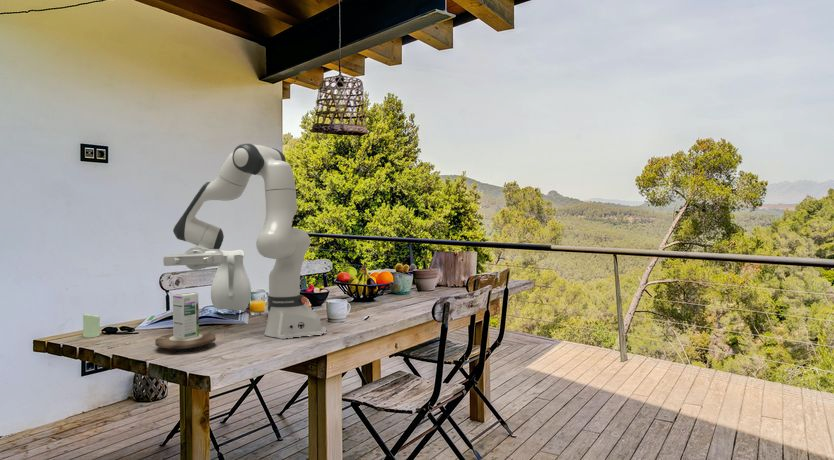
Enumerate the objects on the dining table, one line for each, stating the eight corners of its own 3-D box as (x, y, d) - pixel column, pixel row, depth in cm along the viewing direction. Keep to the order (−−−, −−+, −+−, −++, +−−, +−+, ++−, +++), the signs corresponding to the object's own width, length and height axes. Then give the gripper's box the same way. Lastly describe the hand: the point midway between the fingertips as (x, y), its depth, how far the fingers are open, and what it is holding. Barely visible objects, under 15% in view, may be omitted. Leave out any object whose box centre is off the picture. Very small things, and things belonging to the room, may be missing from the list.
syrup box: (183, 339, 162) (183, 294, 162) (172, 337, 166) (172, 293, 165) (199, 336, 167) (199, 292, 167) (188, 334, 170) (188, 291, 170)
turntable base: (205, 342, 172) (205, 337, 172) (199, 350, 163) (199, 345, 163) (173, 344, 170) (173, 339, 170) (165, 352, 160) (165, 346, 160)
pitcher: (212, 310, 231) (212, 249, 231) (251, 308, 236) (251, 249, 236) (207, 320, 209) (207, 253, 208) (250, 318, 214) (250, 252, 213)
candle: (95, 333, 184) (95, 311, 184) (102, 335, 181) (102, 313, 181) (80, 336, 180) (80, 313, 180) (87, 338, 177) (87, 315, 177)
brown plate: (219, 333, 177) (219, 329, 177) (210, 346, 160) (210, 342, 160) (163, 336, 173) (163, 332, 173) (148, 349, 156) (148, 345, 156)
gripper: (166, 251, 189) (159, 253, 176) (224, 248, 195) (221, 250, 182) (166, 267, 189) (159, 271, 176) (224, 265, 196) (222, 268, 182)
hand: (191, 260), depth 179 cm, fingers open, 8 cm apart
